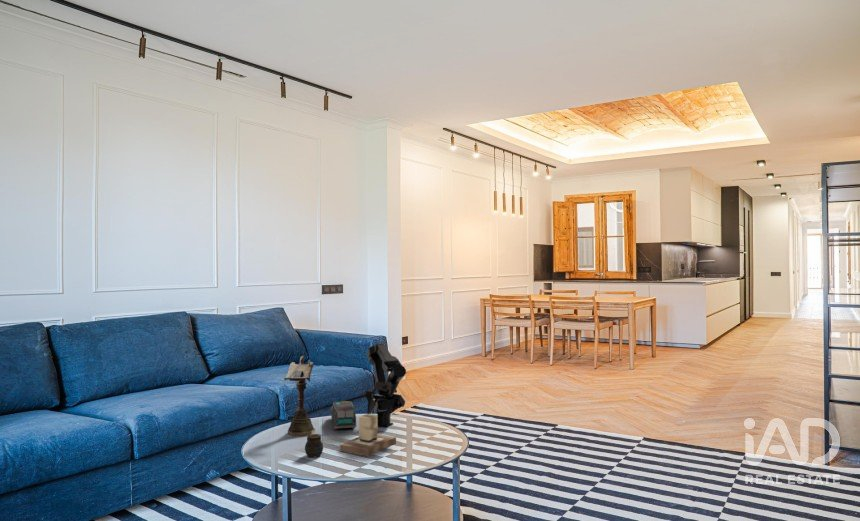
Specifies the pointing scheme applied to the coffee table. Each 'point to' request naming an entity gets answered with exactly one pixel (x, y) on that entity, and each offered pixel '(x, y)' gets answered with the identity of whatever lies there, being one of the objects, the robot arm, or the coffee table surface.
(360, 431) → the tan rectangular block
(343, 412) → the toy van
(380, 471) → the coffee table surface
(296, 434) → the book stand
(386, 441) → the loading dock
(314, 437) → the mate gourd
